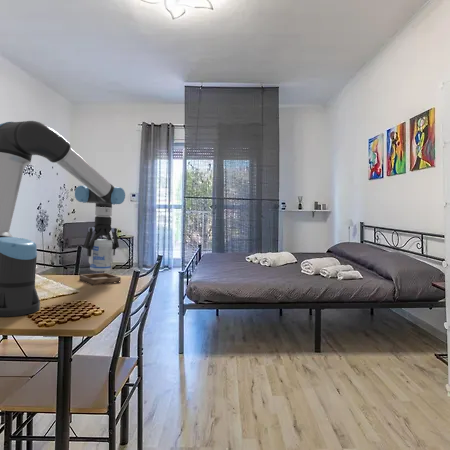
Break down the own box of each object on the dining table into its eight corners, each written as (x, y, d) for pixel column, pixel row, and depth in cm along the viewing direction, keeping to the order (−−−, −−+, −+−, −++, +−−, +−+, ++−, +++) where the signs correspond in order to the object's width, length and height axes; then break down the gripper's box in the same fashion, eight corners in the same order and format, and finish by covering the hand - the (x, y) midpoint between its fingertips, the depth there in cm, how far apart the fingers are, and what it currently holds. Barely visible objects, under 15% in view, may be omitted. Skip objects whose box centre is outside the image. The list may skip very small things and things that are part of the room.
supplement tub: (88, 271, 163) (89, 240, 163) (91, 268, 172) (92, 238, 172) (110, 272, 165) (111, 241, 165) (111, 268, 174) (113, 239, 174)
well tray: (92, 285, 159) (92, 279, 159) (79, 280, 169) (79, 274, 169) (120, 282, 169) (120, 277, 169) (106, 277, 179) (106, 272, 179)
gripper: (83, 215, 157) (81, 265, 158) (128, 217, 173) (125, 262, 174) (76, 215, 163) (74, 262, 163) (120, 216, 179) (118, 260, 179)
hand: (100, 262), depth 169 cm, fingers closed on supplement tub, 9 cm apart
